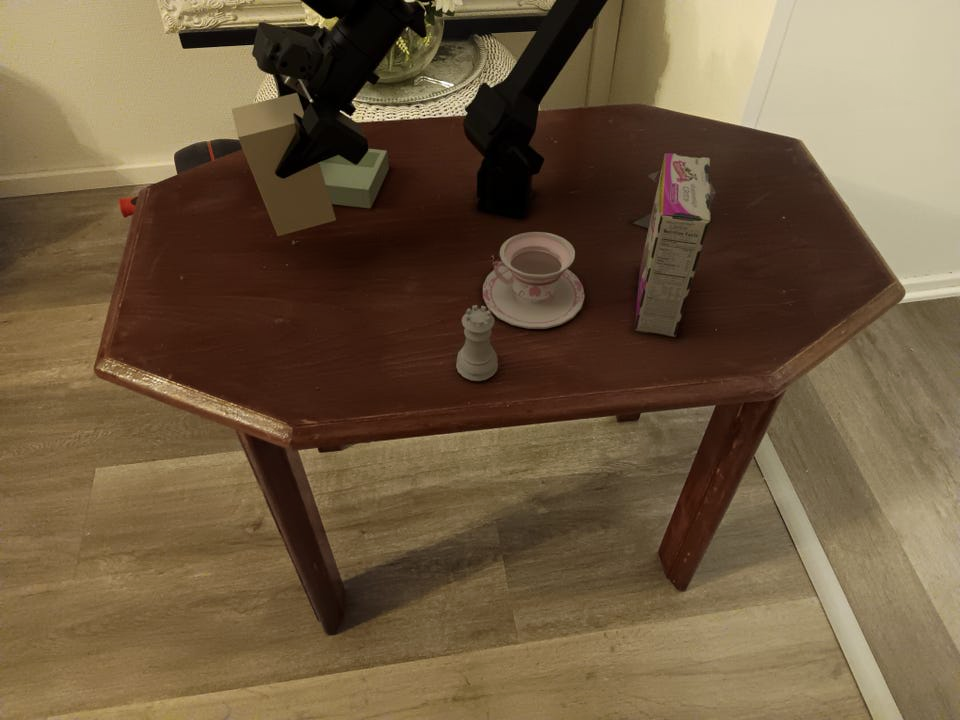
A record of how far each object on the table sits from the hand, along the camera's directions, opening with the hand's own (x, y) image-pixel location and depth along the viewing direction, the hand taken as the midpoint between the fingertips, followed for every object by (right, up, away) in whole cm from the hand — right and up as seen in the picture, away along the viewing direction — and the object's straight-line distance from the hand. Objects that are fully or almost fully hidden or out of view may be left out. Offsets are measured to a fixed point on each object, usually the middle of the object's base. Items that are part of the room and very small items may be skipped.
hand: (272, 161), depth 79 cm
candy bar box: (+43, -15, +6) cm, 46 cm away
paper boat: (+48, -2, +17) cm, 51 cm away
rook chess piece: (+22, -23, -2) cm, 32 cm away
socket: (+3, +3, +21) cm, 21 cm away
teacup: (+29, -14, +6) cm, 33 cm away
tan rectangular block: (+2, -4, +7) cm, 8 cm away
